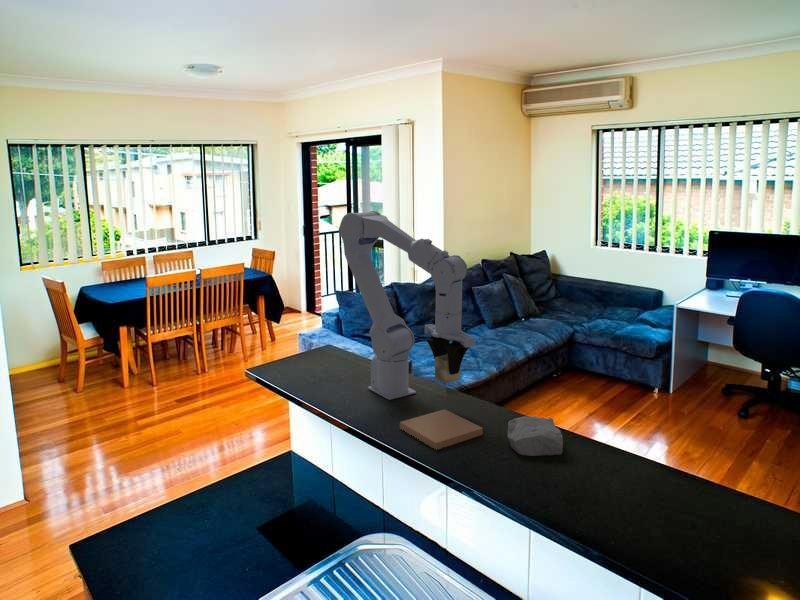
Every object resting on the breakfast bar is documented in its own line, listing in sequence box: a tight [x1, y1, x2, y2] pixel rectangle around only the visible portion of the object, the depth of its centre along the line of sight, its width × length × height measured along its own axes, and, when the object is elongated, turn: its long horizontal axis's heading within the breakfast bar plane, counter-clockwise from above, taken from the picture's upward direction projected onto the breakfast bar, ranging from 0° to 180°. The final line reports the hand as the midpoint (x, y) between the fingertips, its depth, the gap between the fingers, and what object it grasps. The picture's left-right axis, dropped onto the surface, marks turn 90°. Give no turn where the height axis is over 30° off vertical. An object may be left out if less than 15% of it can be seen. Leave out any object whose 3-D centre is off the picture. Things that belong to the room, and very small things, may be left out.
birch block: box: [434, 355, 461, 384], centre depth 135 cm, size 4×4×5 cm
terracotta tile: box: [399, 408, 484, 451], centre depth 123 cm, size 12×12×2 cm
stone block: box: [507, 415, 564, 457], centre depth 118 cm, size 12×5×10 cm
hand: (447, 370), depth 135 cm, fingers closed on birch block, 4 cm apart
